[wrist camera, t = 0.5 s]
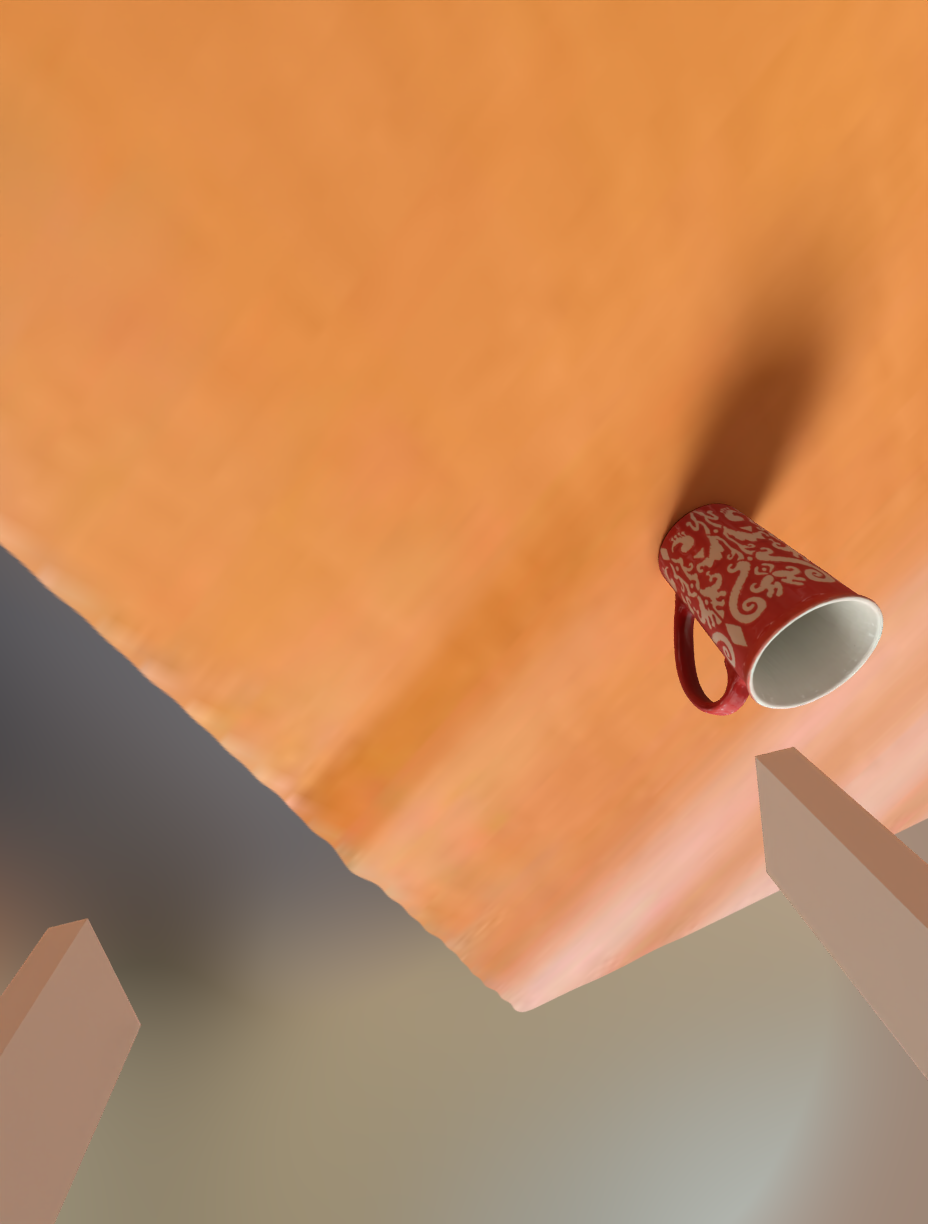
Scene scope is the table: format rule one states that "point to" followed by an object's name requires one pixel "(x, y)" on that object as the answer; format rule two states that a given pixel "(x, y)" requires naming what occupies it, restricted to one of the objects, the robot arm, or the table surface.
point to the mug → (761, 613)
